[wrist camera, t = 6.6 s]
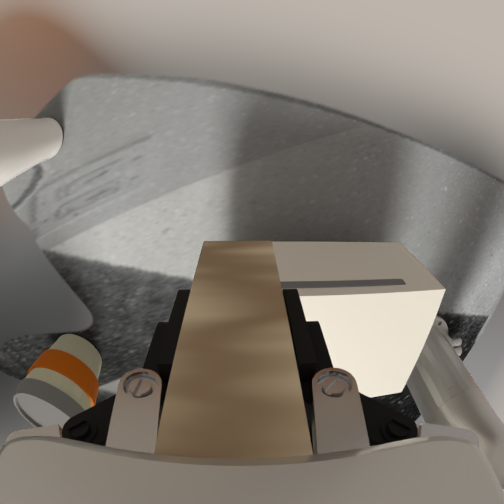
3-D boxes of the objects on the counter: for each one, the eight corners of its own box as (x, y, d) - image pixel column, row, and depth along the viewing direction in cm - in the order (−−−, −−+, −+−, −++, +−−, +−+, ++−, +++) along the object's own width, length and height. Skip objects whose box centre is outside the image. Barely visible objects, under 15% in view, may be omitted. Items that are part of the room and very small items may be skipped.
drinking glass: (31, 167, 32) (-47, 204, 18) (27, 117, 29) (-57, 135, 15) (71, 160, 32) (-7, 197, 18) (68, 106, 29) (-17, 117, 15)
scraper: (271, 240, 14) (320, 498, 4) (262, 446, 22) (269, 567, 12) (203, 241, 14) (146, 496, 4) (225, 447, 22) (223, 568, 12)
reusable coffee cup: (100, 328, 43) (65, 402, 29) (119, 381, 48) (97, 450, 35) (39, 321, 42) (-2, 383, 29) (62, 372, 48) (34, 432, 34)
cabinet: (383, 225, 37) (446, 287, 24) (363, 315, 43) (401, 391, 30) (223, 222, 36) (214, 295, 23) (226, 319, 42) (222, 407, 29)
